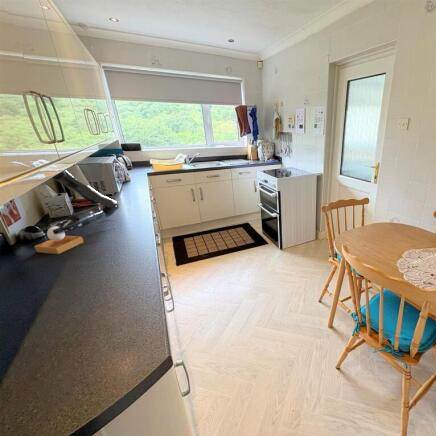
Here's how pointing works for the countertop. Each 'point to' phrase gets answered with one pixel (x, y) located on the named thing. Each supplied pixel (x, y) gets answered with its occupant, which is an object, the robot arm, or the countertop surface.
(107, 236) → the countertop surface
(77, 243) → the bin
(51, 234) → the egg
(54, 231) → the robot arm
